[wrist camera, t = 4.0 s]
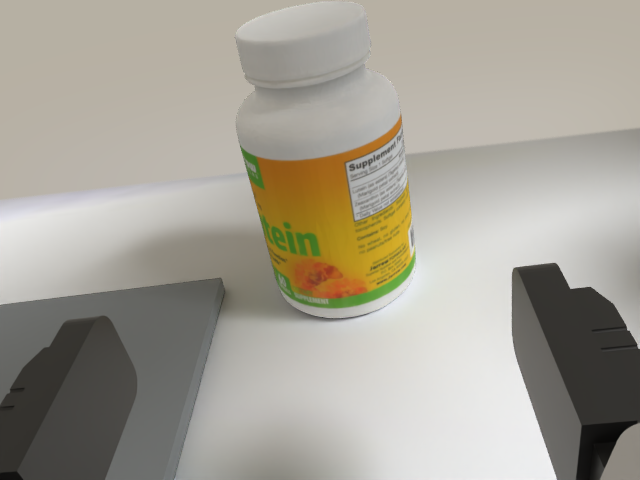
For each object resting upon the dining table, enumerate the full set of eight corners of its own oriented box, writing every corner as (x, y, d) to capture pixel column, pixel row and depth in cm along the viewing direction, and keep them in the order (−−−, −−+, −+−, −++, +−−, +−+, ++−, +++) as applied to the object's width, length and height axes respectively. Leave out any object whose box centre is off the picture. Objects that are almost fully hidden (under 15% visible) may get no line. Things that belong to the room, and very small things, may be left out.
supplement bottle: (252, 286, 23) (176, 39, 18) (348, 223, 26) (306, -9, 21) (346, 345, 20) (286, 56, 14) (446, 264, 22) (427, -4, 17)
